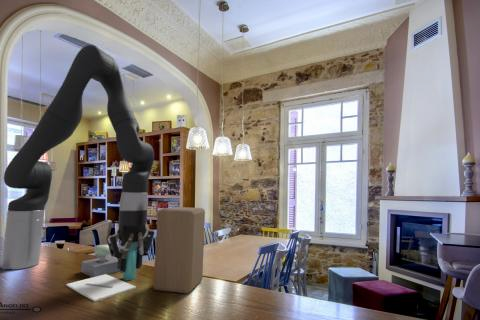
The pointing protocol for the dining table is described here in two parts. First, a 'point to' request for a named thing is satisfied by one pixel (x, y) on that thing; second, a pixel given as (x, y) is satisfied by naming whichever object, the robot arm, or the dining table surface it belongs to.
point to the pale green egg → (102, 252)
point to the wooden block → (179, 249)
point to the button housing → (99, 267)
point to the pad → (100, 287)
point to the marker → (131, 262)
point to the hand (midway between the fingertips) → (129, 269)
